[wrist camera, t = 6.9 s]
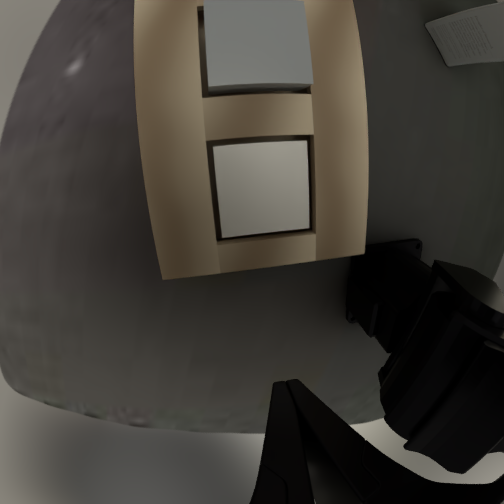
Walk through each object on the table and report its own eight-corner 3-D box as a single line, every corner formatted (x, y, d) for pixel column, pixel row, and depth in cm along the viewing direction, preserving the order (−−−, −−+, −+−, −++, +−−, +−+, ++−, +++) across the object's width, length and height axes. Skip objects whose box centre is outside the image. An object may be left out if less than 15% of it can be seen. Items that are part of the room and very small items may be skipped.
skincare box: (454, 13, 13) (553, -3, 2) (475, 53, 14) (576, 52, 3) (421, 23, 13) (537, -4, 2) (445, 68, 15) (566, 65, 4)
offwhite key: (293, 140, 15) (307, 140, 13) (296, 216, 16) (309, 227, 14) (212, 145, 14) (212, 146, 12) (220, 224, 16) (222, 237, 14)
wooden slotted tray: (310, -52, 10) (330, -79, 7) (336, 231, 19) (364, 253, 15) (152, -50, 9) (144, -80, 6) (171, 250, 18) (162, 280, 14)
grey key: (290, 17, 11) (303, 0, 9) (298, 91, 12) (313, 83, 10) (203, 18, 10) (203, -1, 8) (208, 94, 12) (208, 86, 10)
